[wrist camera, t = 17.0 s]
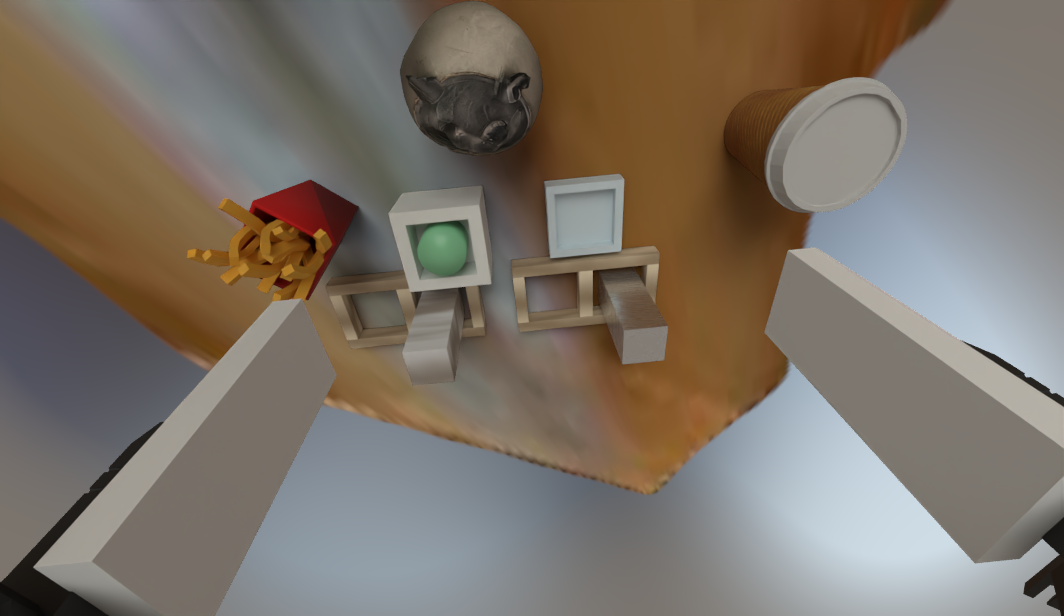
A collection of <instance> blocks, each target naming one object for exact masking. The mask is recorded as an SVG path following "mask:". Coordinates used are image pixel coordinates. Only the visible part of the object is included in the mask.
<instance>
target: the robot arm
mask: <svg viewBox="0 0 1064 616" xmlns="http://www.w3.org/2000/svg"><path fill="white" fill-rule="evenodd" d="M765 334H766V335H767V336H768V337H769V338H770V339H771V340H772V341H773V342H774V343H775V344H776V346H777V347H778V348H779V349H780V350H781V351H782V352H783V353H784V354H785V355H786V357H787V358H788V359H789V360H790V361H791V362H792V363H793V364H794V365H795V366H796V368H797V369H798V370H799V371H800V372H801V373H802V374H803V375H804V376H805V377H806V378H807V380H808V381H809V382H810V383H811V384H812V385H813V386H814V387H815V388H816V389H817V390H818V391H819V393H820V394H821V395H822V396H823V397H824V398H825V399H826V400H827V402H828V403H829V404H830V405H831V406H832V407H833V408H834V409H835V410H836V411H837V412H838V414H839V415H840V416H841V417H842V418H843V419H844V420H845V421H846V422H847V423H848V424H849V426H851V428H852V429H853V430H854V431H855V432H856V433H857V434H858V436H859V437H860V438H861V439H862V440H863V441H864V442H865V443H866V444H867V445H868V447H869V448H870V449H871V450H872V451H873V452H874V453H875V454H876V455H877V456H878V457H879V459H880V460H881V461H882V462H883V463H884V464H885V465H886V466H887V467H888V468H889V469H890V471H891V472H892V473H893V474H894V475H895V476H896V477H897V478H898V479H899V481H900V482H901V483H902V484H903V485H904V486H905V487H906V488H907V489H908V490H909V491H910V493H911V494H913V496H914V497H915V498H916V499H917V500H918V501H919V502H920V503H921V505H922V506H923V507H924V508H925V509H926V510H927V511H928V512H929V513H930V515H931V516H932V517H933V518H934V519H935V520H936V521H937V522H938V523H939V524H940V525H941V527H942V528H943V529H944V530H945V531H946V532H947V533H948V534H949V535H950V536H951V538H952V539H953V540H954V541H955V542H956V543H957V544H958V545H959V546H960V547H961V548H962V550H963V551H964V552H965V553H966V554H967V555H968V556H969V557H970V558H971V560H972V561H973V562H974V563H982V562H992V561H1001V560H1012V559H1020V558H1021V557H1022V556H1023V555H1024V554H1025V553H1026V552H1028V551H1029V550H1030V549H1031V548H1032V547H1033V546H1034V545H1036V544H1037V543H1038V542H1039V541H1040V540H1041V539H1043V540H1044V541H1045V542H1047V543H1048V544H1049V545H1050V546H1051V547H1052V548H1054V550H1055V551H1056V552H1058V553H1059V554H1060V555H1059V556H1057V557H1056V558H1055V559H1054V560H1052V561H1051V562H1050V563H1049V564H1048V565H1046V566H1045V567H1044V568H1043V569H1042V570H1040V571H1039V572H1038V573H1037V574H1036V575H1034V576H1033V577H1032V578H1031V579H1029V580H1028V581H1027V582H1026V583H1025V587H1024V594H1025V595H1027V596H1030V597H1032V598H1034V597H1035V596H1036V595H1038V594H1039V593H1040V592H1042V591H1043V590H1044V589H1045V588H1047V587H1048V586H1049V585H1053V586H1054V588H1055V592H1056V595H1054V596H1053V597H1052V598H1051V599H1050V600H1049V601H1048V602H1047V605H1049V606H1052V607H1054V608H1056V609H1058V610H1060V612H1061V616H1064V398H1063V397H1061V396H1060V395H1058V394H1057V393H1054V394H1052V393H1050V391H1049V390H1050V389H1049V388H1047V387H1046V386H1044V385H1042V384H1041V383H1039V382H1038V381H1036V380H1034V379H1033V378H1031V377H1025V375H1024V374H1025V373H1023V372H1021V371H1020V370H1018V369H1017V368H1015V367H1014V366H1012V365H1011V364H1009V363H1007V362H1006V361H1004V360H1003V359H1001V358H999V357H998V356H996V355H994V354H992V353H990V352H987V351H985V350H982V349H980V348H978V347H975V346H973V345H971V344H968V343H966V342H963V341H961V340H959V339H957V338H956V337H954V336H952V335H951V334H950V333H948V332H946V331H945V330H943V329H942V328H940V327H939V326H937V325H936V324H934V323H933V322H931V321H929V320H928V319H926V318H925V317H923V316H922V315H920V314H919V313H917V312H915V311H914V310H912V309H911V308H909V307H908V306H906V305H905V304H903V303H902V302H900V301H898V300H897V299H895V298H894V297H892V296H891V295H889V294H888V293H886V292H884V291H883V290H881V289H880V288H878V287H877V286H875V285H873V284H872V283H870V282H869V281H867V280H866V279H864V278H863V277H861V276H860V275H858V274H857V273H855V272H853V271H852V270H850V269H849V268H847V267H845V266H844V265H843V264H841V263H839V262H838V261H836V260H835V259H833V258H832V257H830V256H829V255H827V254H825V253H824V252H822V251H821V250H819V249H818V248H806V249H796V250H788V252H787V256H786V259H785V263H784V266H783V270H782V273H781V277H780V280H779V284H778V287H777V291H776V294H775V298H774V301H773V305H772V308H771V312H770V315H769V319H768V323H767V326H766V330H765ZM336 376H337V375H336V373H335V371H334V368H333V366H332V364H331V362H330V360H329V357H328V355H327V353H326V351H325V349H324V346H323V344H322V342H321V340H320V338H319V335H318V333H317V331H316V329H315V327H314V324H313V322H312V320H311V318H310V316H309V313H308V311H307V309H306V307H305V305H304V302H303V300H302V299H292V300H282V301H273V302H272V303H271V304H270V305H269V306H268V308H267V309H266V310H265V311H264V312H263V313H262V314H261V315H260V316H259V318H258V319H257V320H256V321H255V322H254V323H253V324H252V325H251V326H250V328H249V329H248V330H247V331H246V332H245V333H244V334H243V335H242V336H241V338H240V339H239V340H238V341H237V342H236V343H235V344H234V345H233V346H232V347H231V349H230V350H229V351H228V352H227V353H226V354H225V355H224V356H223V357H222V359H221V360H220V361H219V362H218V363H217V364H216V365H215V366H214V367H213V369H212V370H211V371H210V372H209V373H208V374H207V375H206V376H205V378H204V379H203V380H202V381H201V382H200V383H199V384H198V385H197V386H196V388H195V389H194V390H193V391H192V392H191V393H190V394H189V395H188V396H187V397H186V398H185V400H184V401H183V402H182V403H181V404H180V405H179V406H178V407H177V408H176V410H175V411H174V412H173V413H172V414H171V415H170V416H169V417H168V418H167V420H166V421H165V422H160V423H159V424H157V425H156V426H154V427H153V428H152V429H151V430H149V431H148V432H146V433H145V434H144V435H143V436H141V437H140V438H138V439H137V440H135V441H134V442H133V443H131V444H130V446H129V447H128V448H127V449H126V450H125V451H124V452H123V453H122V454H121V455H120V456H119V457H118V458H117V459H116V460H115V462H114V463H113V464H112V465H111V466H110V467H109V472H105V473H103V474H102V475H101V476H100V478H99V479H98V480H97V481H96V482H95V483H94V484H93V485H92V486H91V487H90V492H89V493H86V494H84V495H83V496H82V497H81V498H80V499H79V500H78V501H77V502H76V503H75V504H74V505H73V506H72V507H71V509H70V510H69V511H68V512H67V513H66V514H65V515H64V516H63V517H62V518H61V519H60V520H59V521H58V522H57V524H56V525H55V526H54V527H53V528H52V529H51V530H50V531H49V532H48V533H47V534H46V535H45V536H44V537H43V538H42V539H41V541H40V542H39V543H38V544H37V545H36V546H35V547H34V548H33V549H32V550H31V551H30V552H29V553H28V555H27V556H26V557H25V558H24V559H23V560H22V561H21V562H20V563H19V564H18V565H17V566H16V567H15V568H14V569H13V570H12V572H11V573H10V574H9V575H8V576H7V577H6V578H5V579H4V580H3V581H2V582H0V616H215V615H216V612H217V610H218V609H219V607H220V605H221V602H222V601H223V599H224V597H225V595H226V593H227V591H228V589H229V587H230V585H231V583H232V581H233V579H234V577H235V575H236V573H237V571H238V569H239V567H240V565H241V563H242V561H243V559H244V557H245V556H246V553H247V551H248V549H249V548H250V546H251V544H252V542H253V540H254V538H255V536H256V533H257V532H258V530H259V528H260V526H261V524H262V522H263V520H264V518H265V516H266V514H267V512H268V510H269V508H270V506H271V504H272V502H273V500H274V498H275V496H276V494H277V492H278V490H279V488H280V486H281V484H282V482H283V480H284V479H285V476H286V475H287V473H288V471H289V468H290V467H291V465H292V463H293V461H294V459H295V457H296V455H297V453H298V451H299V449H300V446H301V445H302V443H303V441H304V439H305V437H306V435H307V433H308V431H309V429H310V427H311V425H312V423H313V421H314V419H315V417H316V415H317V413H318V411H319V409H320V407H321V405H322V403H323V402H324V400H325V398H326V396H327V394H328V392H329V390H330V388H331V386H332V384H333V382H334V380H335V378H336Z"/></svg>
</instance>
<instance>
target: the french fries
mask: <svg viewBox="0 0 1064 616" xmlns="http://www.w3.org/2000/svg"><path fill="white" fill-rule="evenodd" d="M218 208H219V209H221V210H222V211H224V212H226V213H227V214H229V215H231V216H233V217H234V218H236V219H237V220H239V221H241V222H242V223H244V227H243V228H242V229H241V230H240V231H238V232H237V233H236V234H235V235H234V237H233V238H232V239H231V240H230V245H229V252H222V251H216V250H211V249H208V250H207V251H206V252H205V251H202V250H199V249H192V250H188V254H187V258H188V259H191V260H194V261H198V262H201V263H205V264H210V265H215V266H228V265H230V266H233V267H231V268H230V269H229V270H228V271H227V272H225V273H224V274H223V275H222V276H221V277H220V278H221V279H222V280H224V281H225V282H226V283H227V284H229V285H231V286H232V285H233V284H234V283H236V282H237V281H238V280H239V279H240V278H241V277H242V276H244V277H253V278H260V279H262V281H261V282H260V284H259V286H258V287H257V289H258V290H261V291H263V292H265V293H268V292H269V290H270V289H271V287H272V285H276V286H278V287H280V288H282V289H281V290H279V291H276V292H274V296H273V300H272V301H282V300H289V299H291V298H292V297H293V298H292V299H302V300H303V302H304V301H305V299H306V300H309V298H310V296H311V294H312V293H313V291H314V289H315V287H316V286H317V284H318V282H319V280H320V279H321V277H322V275H323V273H324V271H325V270H326V268H327V266H328V264H329V263H330V261H331V259H332V257H333V256H334V254H335V252H336V250H337V249H338V247H339V245H340V243H341V241H342V239H343V237H344V235H345V233H346V231H347V229H348V227H349V225H350V223H351V221H352V219H353V217H354V215H355V213H356V211H357V209H358V206H356V205H354V204H353V203H351V202H349V201H347V200H346V199H344V198H342V197H340V196H339V195H337V194H335V193H333V192H332V191H330V190H328V189H326V188H325V187H323V186H321V185H319V184H317V183H316V182H314V181H312V180H308V181H306V182H303V183H300V184H298V185H295V186H292V187H289V188H287V189H284V190H281V191H279V192H276V193H273V194H270V195H268V196H265V197H262V198H260V199H257V200H254V201H253V202H252V205H251V208H250V210H249V212H248V211H247V210H245V209H244V208H242V207H241V206H239V205H237V204H236V203H234V202H233V201H231V200H229V199H225V198H224V200H223V201H222V203H221V204H220V206H219V207H218Z"/></svg>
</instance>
